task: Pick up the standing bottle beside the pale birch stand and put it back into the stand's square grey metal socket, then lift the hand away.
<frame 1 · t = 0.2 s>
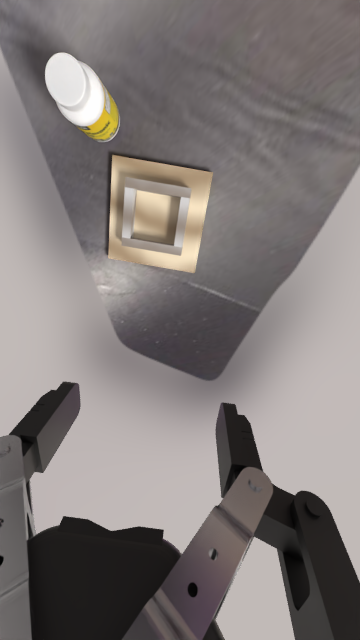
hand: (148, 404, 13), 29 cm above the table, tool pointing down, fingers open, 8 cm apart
socket stand: (157, 218, 36), on the table
supplement bottle: (102, 119, 32), on the table
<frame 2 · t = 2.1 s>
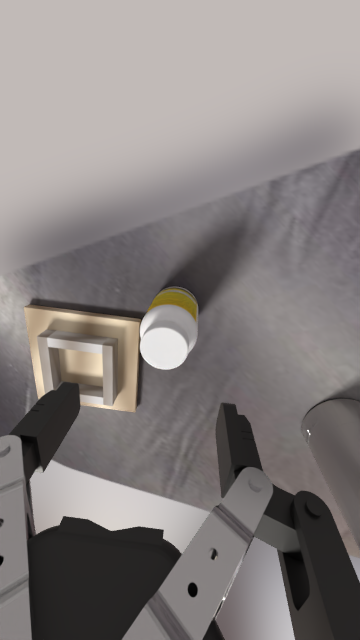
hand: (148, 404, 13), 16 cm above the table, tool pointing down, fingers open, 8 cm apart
socket stand: (87, 360, 32), on the table
supplement bottle: (175, 307, 28), on the table
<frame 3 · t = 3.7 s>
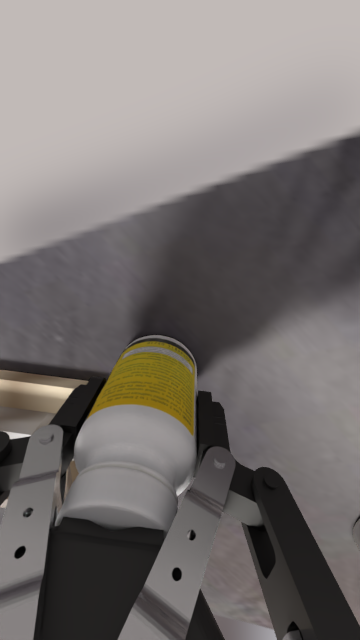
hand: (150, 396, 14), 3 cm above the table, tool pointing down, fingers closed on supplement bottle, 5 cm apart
socket stand: (23, 438, 20), on the table
supplement bottle: (158, 365, 17), on the table, touching gripper
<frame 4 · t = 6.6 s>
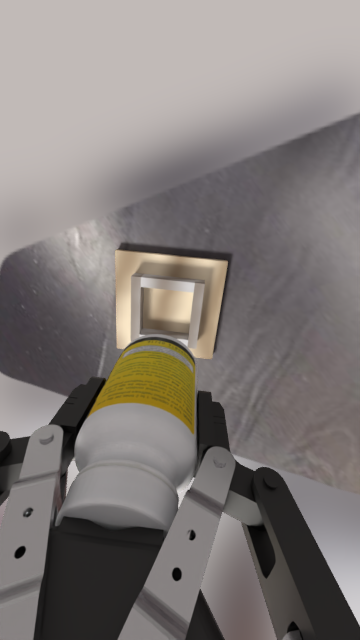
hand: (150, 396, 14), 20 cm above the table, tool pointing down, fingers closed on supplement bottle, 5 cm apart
socket stand: (168, 306, 33), on the table
supplement bottle: (159, 364, 17), point 17 cm above the table, touching gripper
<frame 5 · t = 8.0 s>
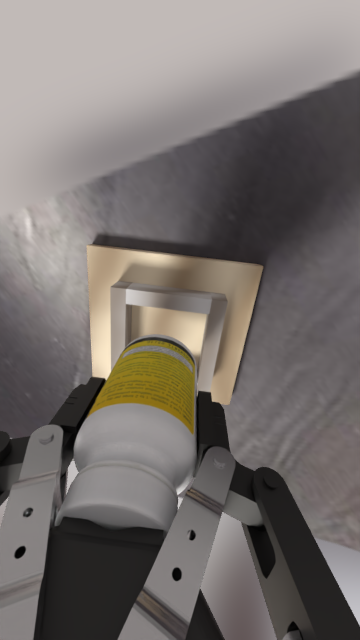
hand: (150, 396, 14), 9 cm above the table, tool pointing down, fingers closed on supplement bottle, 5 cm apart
socket stand: (168, 330, 22), on the table
supplement bottle: (158, 364, 17), point 6 cm above the table, touching gripper
when the fingers open (5 cm above the table, at t = 9.3 s): supplement bottle drops 1 cm, resting on socket stand.
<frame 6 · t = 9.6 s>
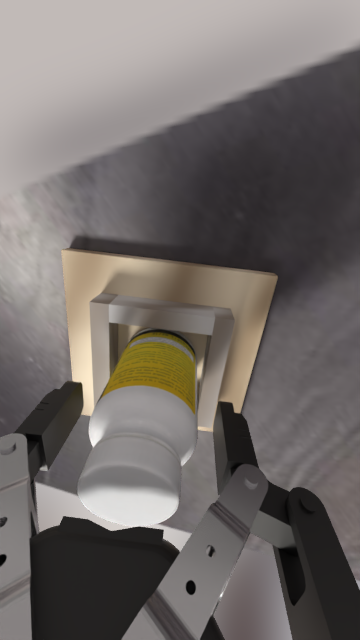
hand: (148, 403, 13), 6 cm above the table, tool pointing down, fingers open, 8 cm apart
socket stand: (162, 349, 19), on the table
supplement bottle: (161, 355, 18), point 1 cm above the table, touching socket stand
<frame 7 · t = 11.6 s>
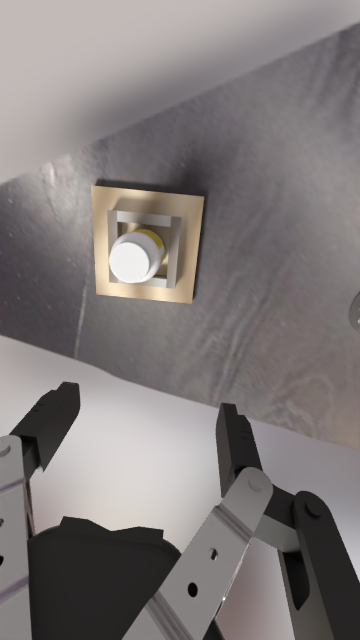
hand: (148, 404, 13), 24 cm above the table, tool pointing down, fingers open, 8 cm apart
socket stand: (146, 248, 33), on the table
supplement bottle: (146, 249, 32), point 1 cm above the table, touching socket stand
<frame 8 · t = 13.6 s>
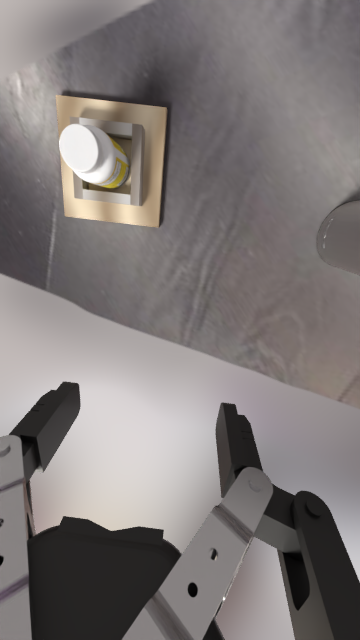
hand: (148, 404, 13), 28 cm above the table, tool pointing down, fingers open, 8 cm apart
socket stand: (113, 168, 33), on the table
supplement bottle: (111, 167, 33), point 1 cm above the table, touching socket stand
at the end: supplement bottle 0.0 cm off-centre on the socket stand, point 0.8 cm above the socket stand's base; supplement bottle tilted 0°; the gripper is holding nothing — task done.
